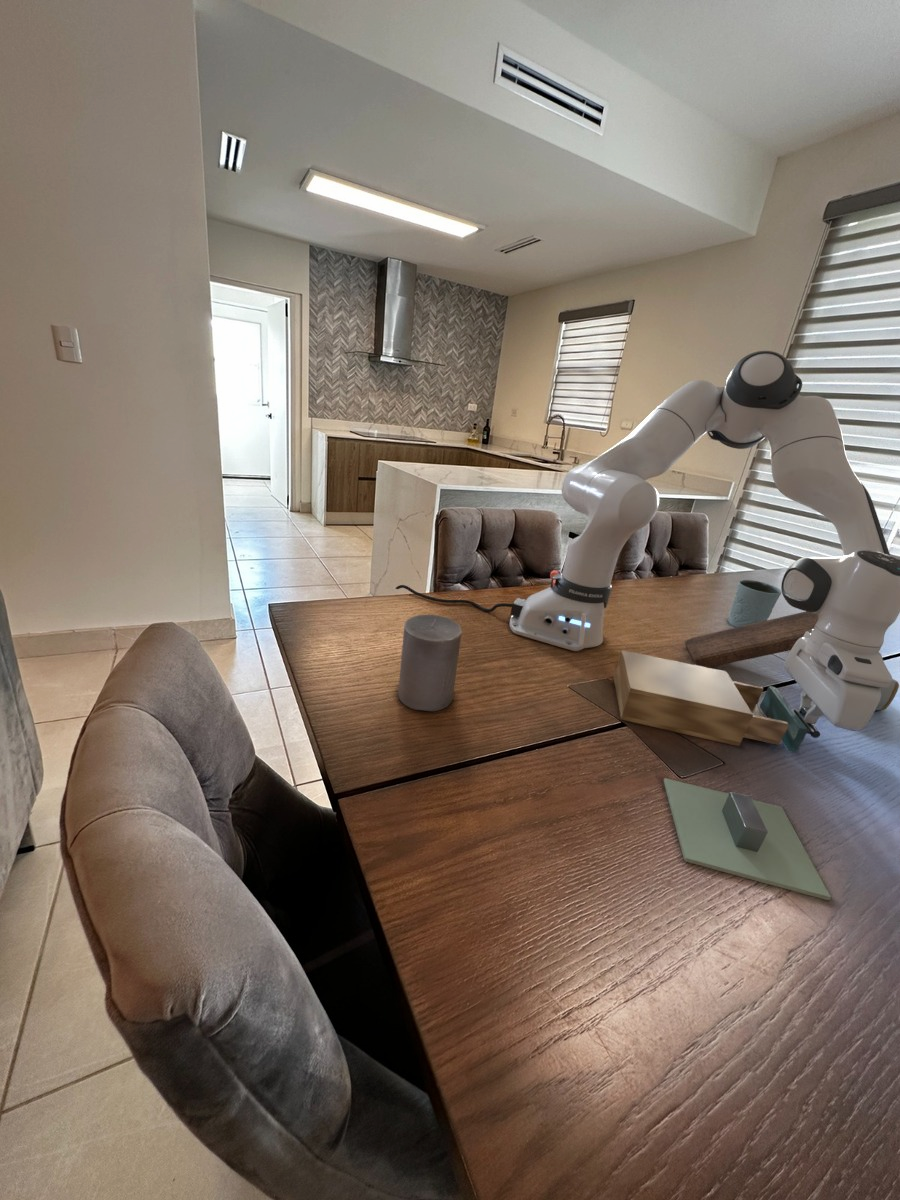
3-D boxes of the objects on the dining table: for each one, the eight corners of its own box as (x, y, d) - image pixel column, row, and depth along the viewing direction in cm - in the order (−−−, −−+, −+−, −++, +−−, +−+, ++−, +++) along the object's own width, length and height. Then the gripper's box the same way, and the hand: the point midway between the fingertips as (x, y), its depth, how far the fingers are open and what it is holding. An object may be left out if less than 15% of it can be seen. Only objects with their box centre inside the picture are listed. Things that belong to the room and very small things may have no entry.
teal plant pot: (765, 625, 134) (781, 586, 129) (765, 637, 126) (782, 596, 121) (725, 614, 138) (740, 576, 134) (723, 625, 130) (738, 585, 126)
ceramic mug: (884, 718, 94) (902, 685, 91) (834, 699, 99) (850, 667, 96) (883, 699, 101) (901, 669, 99) (837, 683, 106) (852, 653, 103)
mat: (684, 861, 57) (685, 858, 57) (663, 780, 70) (664, 777, 70) (829, 901, 54) (831, 897, 54) (780, 809, 67) (781, 806, 67)
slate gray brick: (735, 846, 59) (745, 826, 58) (721, 810, 65) (730, 791, 64) (757, 852, 59) (768, 832, 58) (741, 815, 64) (750, 796, 63)
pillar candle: (427, 675, 89) (435, 603, 83) (464, 700, 83) (475, 624, 77) (386, 692, 83) (392, 614, 77) (422, 720, 76) (432, 638, 71)
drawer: (789, 713, 90) (799, 691, 88) (823, 759, 78) (836, 735, 76) (665, 686, 94) (673, 666, 92) (680, 726, 82) (688, 703, 80)
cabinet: (715, 699, 93) (726, 671, 91) (739, 746, 80) (753, 714, 77) (613, 678, 96) (621, 649, 94) (620, 719, 83) (630, 688, 81)
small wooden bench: (709, 716, 108) (864, 688, 98) (694, 658, 103) (855, 623, 94) (697, 692, 117) (837, 664, 108) (683, 638, 113) (828, 604, 103)
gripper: (791, 621, 87) (764, 684, 93) (852, 676, 69) (813, 750, 74) (829, 628, 86) (799, 691, 92) (900, 685, 68) (857, 761, 73)
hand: (805, 718), depth 83 cm, fingers closed
